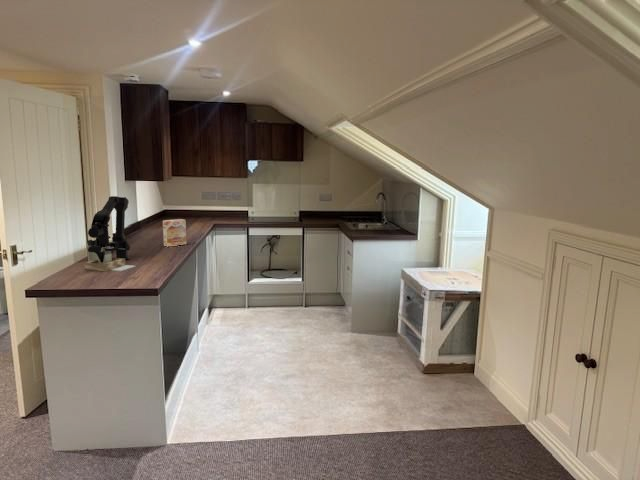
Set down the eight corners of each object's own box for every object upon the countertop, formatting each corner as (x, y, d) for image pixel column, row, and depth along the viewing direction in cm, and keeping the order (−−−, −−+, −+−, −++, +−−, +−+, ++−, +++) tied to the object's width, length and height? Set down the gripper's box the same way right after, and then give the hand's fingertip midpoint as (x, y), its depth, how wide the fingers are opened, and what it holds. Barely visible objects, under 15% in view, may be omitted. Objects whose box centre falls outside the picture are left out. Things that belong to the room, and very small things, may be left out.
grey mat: (126, 266, 255) (126, 265, 255) (135, 266, 254) (135, 265, 253) (111, 270, 244) (111, 269, 244) (121, 271, 242) (121, 270, 242)
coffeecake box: (167, 248, 311) (165, 221, 308) (163, 246, 316) (162, 220, 313) (187, 245, 321) (185, 219, 317) (183, 244, 326) (181, 218, 323)
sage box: (105, 263, 255) (104, 250, 253) (112, 264, 253) (111, 250, 252) (98, 265, 250) (97, 252, 249) (106, 266, 249) (104, 252, 247)
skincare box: (101, 261, 268) (100, 241, 266) (98, 262, 264) (96, 243, 262) (91, 261, 268) (89, 241, 266) (87, 262, 264) (85, 243, 262)
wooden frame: (105, 263, 261) (104, 257, 261) (125, 265, 257) (125, 258, 257) (85, 269, 246) (84, 262, 246) (106, 271, 243) (105, 264, 242)
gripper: (103, 232, 260) (105, 257, 262) (78, 236, 242) (81, 264, 245) (119, 232, 257) (120, 258, 259) (95, 237, 239) (97, 265, 242)
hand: (105, 261), depth 251 cm, fingers closed on sage box, 5 cm apart
